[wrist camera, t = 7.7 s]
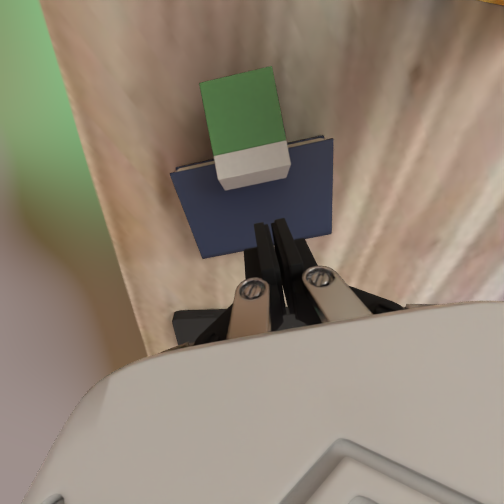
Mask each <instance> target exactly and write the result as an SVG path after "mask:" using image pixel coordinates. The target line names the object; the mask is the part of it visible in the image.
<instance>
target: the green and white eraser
mask: <svg viewBox="0 0 504 504" xmlns="http://www.w3.org/2000/svg"><path fill="white" fill-rule="evenodd" d="M199 85H200V90H201V96H202V101H203V106H204V111H205V116H206V121H207V126H208V131H209V136H210V141H211V146H212V151H213V156H214V162H215V167H216V172H217V177H218V180H219V182H220V183H221V185H222V186H223V188H224V190H230V189H235V188H240V187H245V186H249V185H254V184H259V183H264V182H268V181H273V180H278V179H283V178H286V177H287V174H288V171H289V168H290V165H291V162H290V157H289V152H288V147H287V141H286V136H285V131H284V126H283V121H282V116H281V110H280V105H279V100H278V95H277V90H276V85H275V79H274V74H273V69H272V66H269V67H265V68H261V69H257V70H252V71H248V72H244V73H240V74H236V75H231V76H227V77H223V78H219V79H214V80H210V81H206V82H202V83H199Z"/></svg>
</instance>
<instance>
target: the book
mask: <svg viewBox="0 0 504 504" xmlns="http://www.w3.org/2000/svg"><path fill="white" fill-rule="evenodd" d="M287 147H288V152H289V157H290V162H291V165H290V168H289V171H288V174H287V177H286V178H283V179H278V180H273V181H268V182H264V183H259V184H254V185H249V186H245V187H240V188H235V189H230V190H224V188H223V186H222V185H221V183H220V182H219V180H218V177H217V172H216V167H215V162H214V159H212V160H207V161H202V162H198V163H193V164H188V165H184V166H179V167H176V172H173V173H170V176H171V179H172V182H173V184H174V187H175V189H176V192H177V194H178V197H179V199H180V202H181V205H182V207H183V210H184V212H185V215H186V217H187V220H188V223H189V225H190V228H191V230H192V233H193V235H194V238H195V241H196V243H197V246H198V248H199V251H200V253H201V256H202V258H203V259H205V258H210V257H215V256H221V255H226V254H231V253H236V252H241V251H244V249H249V248H254V247H257V243H256V236H255V230H254V224H255V223H261V222H264V224H268V226H269V230H270V234H271V238H272V241H273V235H272V228H271V223H274V220H276V219H281V218H285V220H286V223H287V225H288V227H289V230H290V232H291V234H292V237H293V239H294V240H296V239H301V238H304V239H308V238H313V237H318V236H324V235H329V234H332V188H333V138H331V139H326V140H325V139H324V136H323V135H322V136H318V137H313V138H309V139H304V140H299V141H295V142H290V143H287ZM273 245H274V241H273Z"/></svg>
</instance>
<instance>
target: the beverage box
mask: <svg viewBox="0 0 504 504" xmlns="http://www.w3.org/2000/svg"><path fill="white" fill-rule="evenodd" d="M478 1H483V2H488V3H493V4H498V5H503V6H504V0H478Z"/></svg>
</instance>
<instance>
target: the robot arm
mask: <svg viewBox="0 0 504 504" xmlns="http://www.w3.org/2000/svg"><path fill="white" fill-rule="evenodd" d="M271 228H272V235H273V241H274V245H273V241H272V238H271V234H270V230H269V226H268V224H264V222H261V223H255V224H254V230H255V236H256V243H257V247H254V248H249V249H244V261H245V277H246V280H244V281H243V282H241V283H240V284H239V285H238V286H237V288H236V291H235V297H234V302H233V304H232V305H231V306H230V307H229V308H228V309H227V310H226V311H224V312H223V313H222V314H221V315H220V316H219V317H218V318H217V319H216V320H215V321H214V322H213V323H212V324H211V325H210V326H209V327H208V328H207V329H206V330H205V331H203V332H202V333H201V334H200V335H199V337H198V338H197V339H196V340H195V342H194V343H191V344H190V343H189V342H186V343H184V344H181V345H178V346H176V347H173V348H171V349H168V350H166V351H163V352H160V353H158V354H155V355H152V356H148V357H145V358H142V359H140V360H137V361H135V362H132V363H130V364H127V365H126V366H124V367H122V368H120V369H118V370H116V371H114V372H112V373H111V374H109V375H107V376H106V377H104V378H103V379H101V380H100V381H99V382H97V383H96V384H95V385H94V386H93V387H92V388H91V389H89V391H88V392H87V393H86V394H85V395H84V396H83V397H82V399H81V400H80V402H79V403H78V404H77V406H76V407H75V409H74V410H73V412H72V413H71V415H70V417H69V418H68V420H67V422H66V423H65V425H64V426H63V428H62V430H61V431H60V433H59V435H58V436H57V438H56V440H55V442H54V443H53V445H52V447H51V449H50V450H49V452H48V454H47V456H46V458H45V460H44V462H43V463H42V465H41V467H40V469H39V471H38V473H37V475H36V477H35V478H34V480H33V482H32V484H31V486H30V488H29V490H28V492H27V493H26V495H25V497H24V499H23V501H22V503H21V504H504V301H468V302H457V303H448V304H406V307H402V306H400V305H399V304H397V303H395V302H393V301H390V300H387V299H384V298H381V297H379V296H376V295H373V294H370V293H367V292H365V291H362V290H359V289H356V288H354V287H351V286H348V285H347V284H346V283H345V282H344V280H343V279H342V278H341V277H340V276H339V275H338V273H337V272H336V271H334V270H333V269H331V268H329V267H326V266H318V265H317V263H316V261H315V259H314V257H313V255H312V253H311V251H310V249H309V247H308V245H307V243H306V241H305V239H304V238H301V239H296V240H294V239H293V237H292V234H291V232H290V230H289V227H288V225H287V223H286V220H285V218H281V219H276V220H274V223H271ZM274 248H275V249H274ZM282 286H283V287H282ZM283 290H284V294H285V297H286V301H287V305H288V309H289V313H290V315H291V314H294V316H295V319H296V321H297V320H300V321H301V322H303V323H305V324H306V326H304V327H298V328H292V329H286V330H280V331H278V329H279V327H280V326H281V325H282V324H283V322H284V320H283V316H285V315H286V308H285V301H284V294H283Z"/></svg>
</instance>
